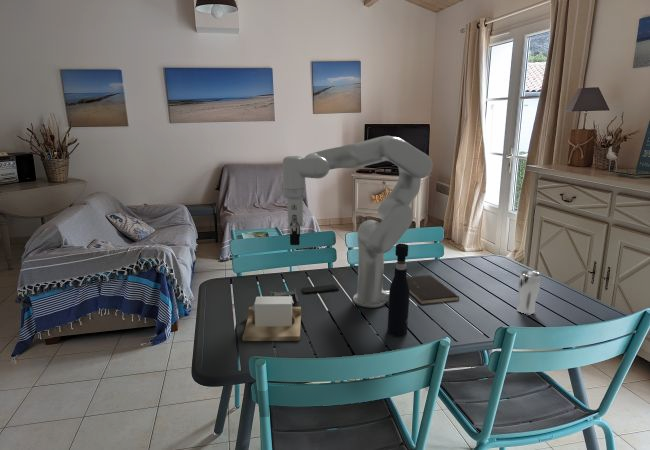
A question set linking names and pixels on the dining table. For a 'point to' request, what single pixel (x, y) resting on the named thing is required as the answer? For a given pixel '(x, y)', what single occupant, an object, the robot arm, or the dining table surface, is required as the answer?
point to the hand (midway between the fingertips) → (295, 240)
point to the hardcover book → (429, 290)
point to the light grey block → (273, 311)
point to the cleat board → (273, 329)
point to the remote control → (320, 289)
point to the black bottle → (399, 295)
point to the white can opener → (528, 291)
